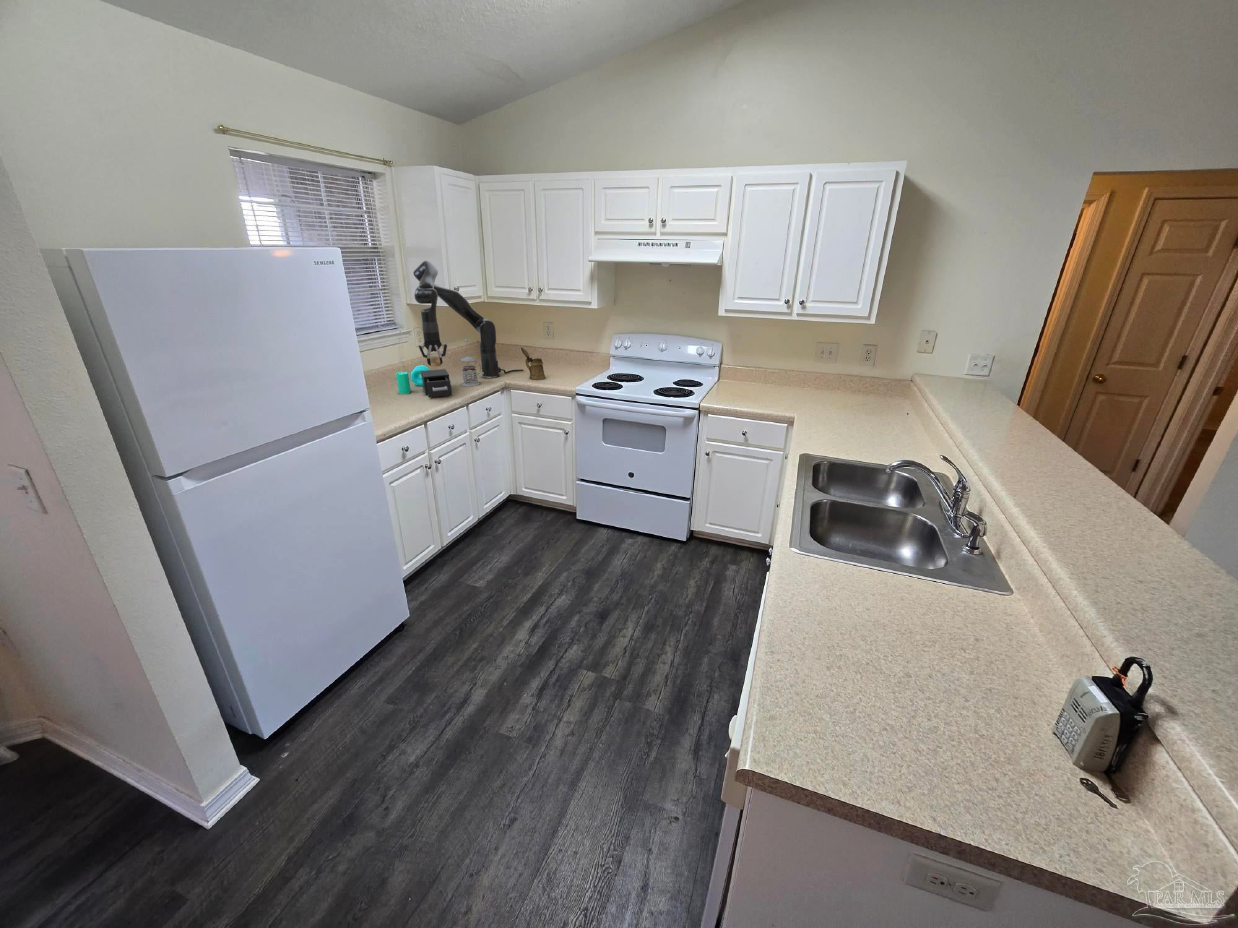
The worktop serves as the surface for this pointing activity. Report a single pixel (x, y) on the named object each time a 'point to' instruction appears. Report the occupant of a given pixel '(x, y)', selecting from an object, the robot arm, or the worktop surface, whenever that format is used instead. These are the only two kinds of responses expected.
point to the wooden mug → (534, 366)
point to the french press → (473, 379)
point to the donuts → (415, 374)
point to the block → (434, 361)
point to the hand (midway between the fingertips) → (435, 365)
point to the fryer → (432, 376)
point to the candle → (403, 382)
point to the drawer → (438, 387)
